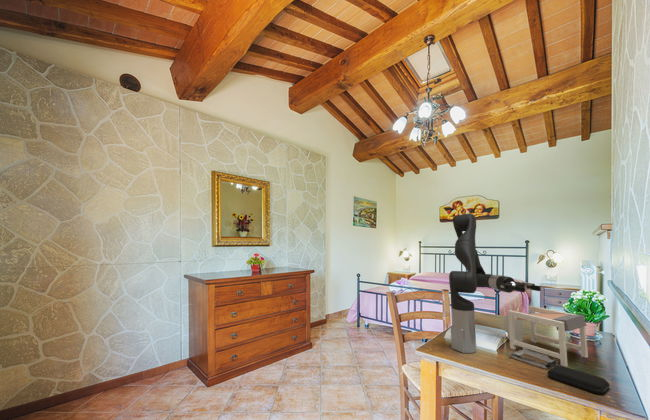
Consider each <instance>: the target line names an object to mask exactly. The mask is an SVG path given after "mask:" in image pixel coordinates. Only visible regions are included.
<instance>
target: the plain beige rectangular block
mask: <svg viewBox="0 0 650 420" xmlns="http://www.w3.org/2000/svg"><path fill="white" fill-rule="evenodd" d="M503 319H504V333H505V332H507V333H508V339H507V340H509V341H510V334H509V318H508V315H504V317H503ZM514 325H515V340H517V341H520V342H524V331H523V330H524V329H523V320H517V318H516V317H514Z"/></svg>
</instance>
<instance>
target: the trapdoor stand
mask: <svg viewBox="0 0 650 420" xmlns="http://www.w3.org/2000/svg"><path fill="white" fill-rule="evenodd" d="M528 310H529V311H528V312H529V314H532V313H544V314H568V315H569V314H571V315H576V314H575V313H569V312H565V311H560V310H555V309H550V308H543V307H539V306H535V305H528ZM507 312H508V313H507V314H508V315H507V316H508V318H509V334H510V340H509V348H510V349H512V350H516V349H517V347H516V346H518V347H521V348H524V347H525V348H527V349H529V350H530V351H533V352H538V353H540V354H544V355H547V356H548V357H553V358H554V359H555V358H556V359H558V360H560V366H564V367H567V368H568V353H567V348H569V349H570V348H571V349H574V350H577V351H580V352H581V353H580V355H581V358H586V359H587V358H589V355H588V341H587V331H586V330H587V326H584V327H581V328H578V330H579V331H578V332H579V340H580V345H579V344H575V343H572V342H568V341H566V340H567V339H566V331H565V326H564V322H561V321H556V320H552V319H547V318H543V317H538V316H534V315H529V314H528V313H525V312H520V311H515V310H511V309H510V310H509V309H508V310H507ZM514 317H517V318H522V319H526V320H525V321H528V320H530V321H529V325H530V341H531V342H532V343H534V344H536V343H537V342H538V341H537V339H538V340H542V341H545V342H549V343H553V344H556V345H558V347H559V352H555V351H552V350H550V349H547V348H543V347H540V346H537V345H533V344H530V343H527V342H524V341H517V340H515V325H514ZM584 319H585V320H586V317H585V316H584ZM536 323H539V324H543V325H547V326H551V327H555V328H556V327H558V330H557V331H558V333H557V334H558V338H553V337H550V336H547V335H543V334H540V333H537V324H536Z"/></svg>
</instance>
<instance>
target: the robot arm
mask: <svg viewBox="0 0 650 420" xmlns="http://www.w3.org/2000/svg"><path fill="white" fill-rule="evenodd" d="M452 224H453V228H454V232H455V234H456V237H457V240H456V241H455V244H454V255H455V257H456V259H457V260H458V261H459V263H461V265H463V267H465V270H466V271H462V270H461V271H460V270H451V271H450V273H449V275H448V278H449V279H448V281H449V292H450V293H449V294H450V309H451V310H450V311H451V314H450V315H451V316H450V317H451V326H450V346H451V350H455V351H458V352H460V353H462V354H473V353H476V352H477V338H476V337H477V336H476V332H477V331H476V317H475V314H476V313H475V304H474V302H473V301H471V300H469V299H467V298H465V297H463V296H462V295H460V293H461V294H462V293H463V294H474V293H476V291H477V288H488V289H493V290H495V291H498V292H504V293H508V294H509V293H512V292H521V293H526V291H528V290H530V291H536V292H541V291H542V289H541V288H542V287H541V286H540V285H536V284H535V283H532V282H525V281H522V282H521V281H517V280H515V279H514V278H513V277H511V276H506V275H500V274H491V273H486V272H485V270H484V268H483V266H482V264H481V261H480V257H479V253H478V251H477V249H476V248H477V245H476V232H477V230H476V229H477V219H476V216H475V215H474V214H473V213H462V214H458V215H454V216H453V218H452Z"/></svg>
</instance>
